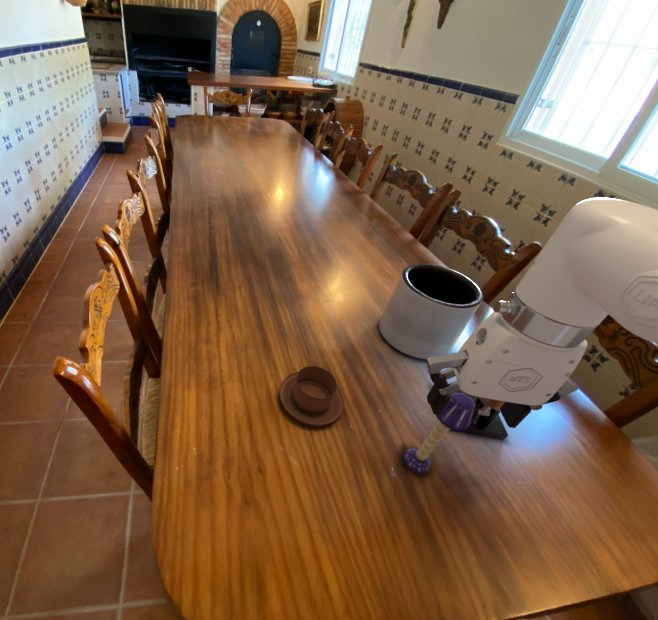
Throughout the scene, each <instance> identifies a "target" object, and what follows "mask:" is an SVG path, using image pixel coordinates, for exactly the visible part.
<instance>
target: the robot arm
mask: <svg viewBox="0 0 658 620" xmlns="http://www.w3.org/2000/svg"><path fill="white" fill-rule="evenodd" d="M492 310H493V312H492V313H491V314H490V315H489V316H488V317H486V318H485V320H483V321H482V322H481V323H480V325H478V327H476V328H475V330H474V331H473V332H472V333H471V334H470V335H469V336H468V337H467V339H466V340H465V341H464V343H463V344H462V345H461V347H460V348H459V350H458V351H457V352H452V353H448V354H444V355H438V356H431V357H428V358H427V359H425V360H426V367H427V372H428V374H429V377H430V381H431V382H432V383H433V385H432V387H431V389H429V392H427V395H426V400H427V401H426V402H427V403H428V405H429V406H430V409H431V413H432V414H433V415H435V416H436V415H439V414H440V413H441V412H442V410H443V409H444V408H445V406H446V405H447V403H448V402H449V401H450V399H451V395H450V393H453V392H455V391H458V390H461V391H463V392H464V393H466V394H469V395H472V396H477V397H482V398H488V399H494V400H499V401H505V403H504V404H503V405H502V406H501V407H500V414H501V415H502V417H503V419H504V422H505V423H506V425H507V427H508V428H510V429H511V428H512V429H515V428H517V427H518V426H519V425H520V424H521V423H522V422H523V421H524V419H526V418H527V417H528V415H529V414H530V413H532V411H539V410H541V409H542V408H543V405H547V404H551V403H555V402H558V401H559V400H561V397H565V396H568V395H570V394H572V393H574V392H576V391H578V390H579V386H578V385H577V384H576V382H575V381H574V379H572V377H570V376H571V375H572V374H573V373H574V371H575V369H576V368H577V367H578V365H579V363H580V362H581V360H582V359H583V356H584V355H585V353H586V350H587V349H588V348H587V347H588V344H589V343H588V341H587V339H588V337H589V336H590V335H591V334H592V333H593V332H594V331H595V329H597V327H599V325H600V324H601V323H602V322H603V321H604V320H605V319H606V317H607V316H608V315H609V316H610V317H611V318H612V319H613V320H614V321H615V322H616V323H618V325H620V326H621V327H622V328H624V329H625V330H626V331H628V332H630V333H632V334H633V335H634V336H637V337H639V338H641V339H643V340H645V341H648V342H651V343H655V344H658V209H656V208H653V207H650V206H647V205H644V204H640V203H637V202H633V201H628V200H626V199H625V200H624V199H619V198H611V197H592V198H588V199H584V200H581V201H580V202H578V203H576V204H574V205H573V207H571V208H570V209H569V210H568V212H567V213H566V215H565V216H564V217H563V219H562V220H561V221H560V223H559V224H558V226H557V227H556V229H554V231H553V233H552V235H551V236H550V237H549V239H548V241H546V244H545V245H543V248H542V249H541V251H540V252H539V254H538V255H537V256H536V258H535V259H534V261H533V262H532V264H531V265H530V266H529V268H528V269H527V271H526V272H525V273H524V275H523V277H522V278H521V279H520V281H519V282H518V284H517V286H516V287H515V288H514V289H513V291H512V292H511V294H510V295H509V296H508V298H507V299H505V300H496V301H495V302H494V303H493V308H492ZM452 378H456V380H454V381H452V382H448V380H450V379H452Z"/></svg>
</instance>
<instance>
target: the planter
mask: <svg viewBox="0 0 658 620" xmlns="http://www.w3.org/2000/svg"><path fill="white" fill-rule="evenodd" d="M483 300H484V295H483V292H482V290H481V288H480V287H479V285H477V283H475V282H474V281H473V280H471V279H470V278H469V277H467V276H466V275H464V274H463V273H460V272H459V271H456V270H454V269H452V268H449V267H445V266H443V265H438V264H434V263H413V264H410V265H408V266H406V267H404V268H403V269H402V271H401V273H400V276H399V278H398V280H397V282H396V285H395V286H394V289H393V291H392V293H391V296H390V298H389V300H388V302H387V303H386V306H385V308H384V310H383V312H382V314H381V316H380V319H379V323H378V328H379V332H380V334H381V335H382V337H383V338H384V339H385V341H386V342H387V343H388V344H389V345H390V346H392V347H393V348H394V349H396V350H398V351H399V352H401V353H402V354H405V355H407V356H410V357H413V358H416V359H420V360H421V359H422V360H426V359H427V358H428V357H431V356H438V355H444V354H450V352H451V350H452V349H453V348H454V346H455V344H456V343H457V341H458V340H459V338H460V337H461V335H462V333H463V332H464V330H465V328H466V327H467V326H468V324H469V322H470V321H471V320H472V318H473V316H474V315H475V313H476V312H477V310H478V309H479V307H480V306H481V304H482V302H483Z"/></svg>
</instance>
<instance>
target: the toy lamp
mask: <svg viewBox="0 0 658 620" xmlns="http://www.w3.org/2000/svg"><path fill="white" fill-rule="evenodd" d="M474 410H475V403H474V401H473V400H472V399H471V398H470V397H468V396H467V395H465V394H462V393H455V394H453V395H451V399H450V401H449V402H448V403H447V405H446V406H445V408H444V409H443V410H442V412H441V413H440V414H439V415H435V417H436V419H437V420H438V422H436V424H435V426H434V427H433V428H432V430H431V432H430V433H428V435H427V437H426V438H425V439H424V441H423V443H422V444H421V445H420V446H419V448H408V449H407V450H405V451H404V453H403V454H402V462H403V464H404V465H405V467H406V468H407V469H408V470H410V471H411V472H412V473H414V474H417V475H426V474H427V473H428V472H429V471H430V469H431V461H430V458H429V456H430V455H431V454H432V453H433V450H435V449H436V448H437V446H438V445H439V444H440V443H441V442H442V439H443V438H444V437H445V436H446V434H447V433H448V432H450V431H453V430H456V431H455V432H458V431H463V430H466V429H467V428H468V427H469V426H470V423H471V420H472V417H473V413H474ZM450 429H452V430H450Z"/></svg>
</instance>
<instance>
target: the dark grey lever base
mask: <svg viewBox="0 0 658 620" xmlns="http://www.w3.org/2000/svg"><path fill="white" fill-rule="evenodd" d="M455 393H462V394H465V395H467V396H468V397H470V398H471V399H472V400H473V401H474V403H475V410H474V413H473V417H472V420H471V423H470V426H469V427H468V428H467V429H466V430H463V431H456V430H452V429H450V430H449V431H454V432H458V433H465V434H470V435H475V436H480V437H485V438H492V439H497V440H501V441H502V440H503V441H504V440H505V439H507V438H508V437H509V433H508V431H507V429H506V428H505V425H504V423H503V421H502V418H501V417H500V415H499V414H501V412H500V411H498V410H495V409H493V408H491V410H490V415H489V416H481V415H476V413H477V412H478V410H479V409H480V408H479V405H478V404H479V403H480V402H481V400H480V399H479V398H478V397H477V396H472V395H469V394H466V393H464V392H463V391H461V390H458V391H455V392H453V393H450V395H453V394H455Z"/></svg>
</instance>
